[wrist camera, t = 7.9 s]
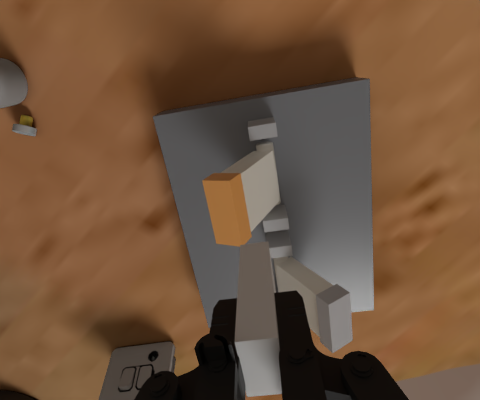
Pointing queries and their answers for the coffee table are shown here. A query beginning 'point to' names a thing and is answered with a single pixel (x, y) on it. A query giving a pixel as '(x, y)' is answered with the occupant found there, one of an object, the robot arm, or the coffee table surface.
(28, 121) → the reed diffuser
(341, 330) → the breaker
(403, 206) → the coffee table surface
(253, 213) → the breaker
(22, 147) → the coffee table surface
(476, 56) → the coffee table surface
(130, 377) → the electrical switch
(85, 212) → the coffee table surface
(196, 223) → the breaker panel
